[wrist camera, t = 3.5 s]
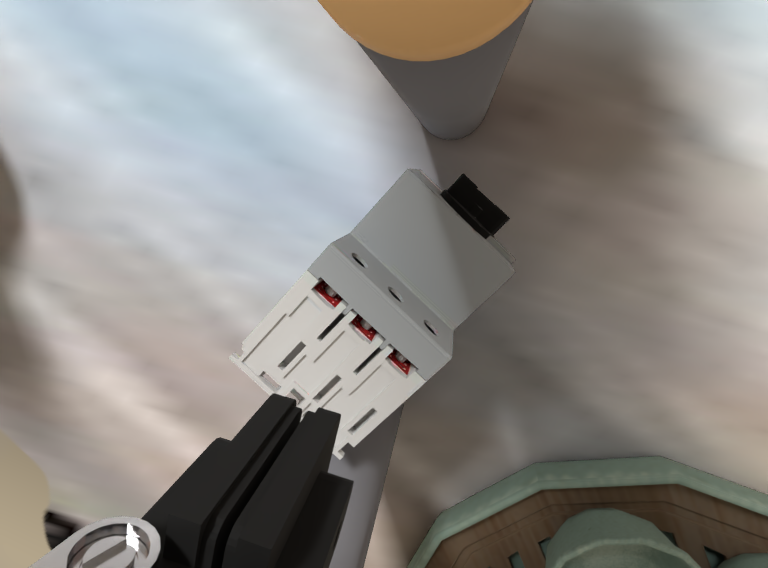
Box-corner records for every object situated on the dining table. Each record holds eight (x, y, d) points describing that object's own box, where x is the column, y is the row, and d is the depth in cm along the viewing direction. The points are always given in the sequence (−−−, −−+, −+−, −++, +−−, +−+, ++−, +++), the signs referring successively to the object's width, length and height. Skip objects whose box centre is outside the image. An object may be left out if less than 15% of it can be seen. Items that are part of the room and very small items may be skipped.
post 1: (354, 351, 37) (165, 667, 14) (414, 369, 37) (329, 730, 13) (341, 405, 39) (148, 778, 15) (399, 423, 38) (296, 839, 14)
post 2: (425, 54, 31) (311, -334, 7) (499, 71, 31) (635, -288, 7) (407, 131, 33) (259, 16, 9) (477, 148, 32) (526, 76, 8)
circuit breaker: (515, 224, 33) (557, 263, 19) (384, 350, 37) (336, 463, 23) (441, 152, 33) (425, 136, 18) (317, 287, 37) (225, 361, 22)
